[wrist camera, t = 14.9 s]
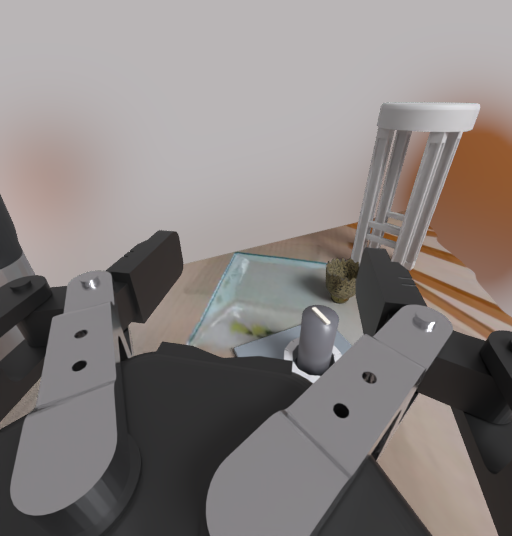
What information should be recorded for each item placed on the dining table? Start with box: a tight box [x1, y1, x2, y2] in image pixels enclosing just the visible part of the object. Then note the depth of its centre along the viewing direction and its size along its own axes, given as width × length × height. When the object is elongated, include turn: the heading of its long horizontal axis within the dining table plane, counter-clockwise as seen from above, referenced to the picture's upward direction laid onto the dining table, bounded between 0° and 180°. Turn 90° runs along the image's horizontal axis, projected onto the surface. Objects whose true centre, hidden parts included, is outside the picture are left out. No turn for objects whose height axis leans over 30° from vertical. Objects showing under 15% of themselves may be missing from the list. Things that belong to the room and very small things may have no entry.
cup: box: [326, 258, 360, 303], centre depth 55 cm, size 8×7×8 cm
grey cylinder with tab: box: [296, 305, 339, 376], centre depth 38 cm, size 5×5×11 cm
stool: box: [351, 102, 480, 270], centre depth 59 cm, size 16×16×35 cm
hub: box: [234, 325, 352, 383], centre depth 40 cm, size 18×18×4 cm
